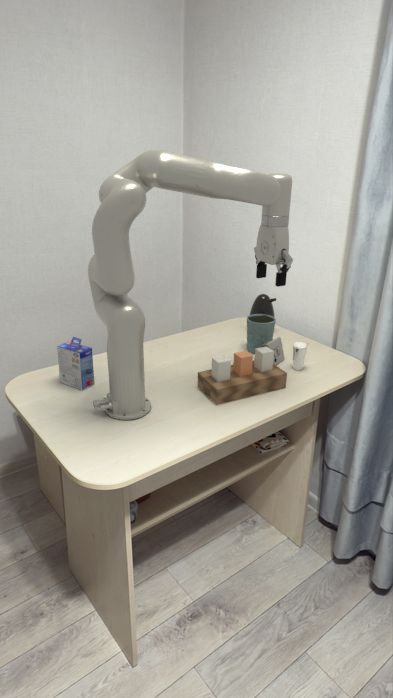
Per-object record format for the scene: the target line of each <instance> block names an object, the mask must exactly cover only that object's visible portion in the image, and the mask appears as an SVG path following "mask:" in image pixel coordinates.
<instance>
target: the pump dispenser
mask: <svg viewBox="0 0 393 698" xmlns="http://www.w3.org/2000/svg"><path fill="white" fill-rule="evenodd" d="M276 301H277V297H276V298H275V297H274V298H270V296H269V295H268V294H265V293H260V294H258V295H257V296H256V298H255V299H254V300H253V303H252V305H251V307H250V311H249V315H253V314H265V315H270V316H273V317H274V318H275V319H276V316H275V310H274V309H275V308H274V305H273V302H276Z"/></svg>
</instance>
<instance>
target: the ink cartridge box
mask: <svg viewBox="0 0 393 698" xmlns="http://www.w3.org/2000/svg"><path fill="white" fill-rule="evenodd" d="M74 341H77V342H78V343H77V342H74ZM56 350H57V361H58V362H57V363H58V373H59V382H60V383H61V384H64V385H68V386H70V387H72V388H76V389H78V390H82V391H83V390H85V389H87V388H89V387H92V386H94V385H95V372H94V360H93V359H94V358H93V347H90V346H87V345H84V344H82V338H79V337H75V336H72V339H71V340H70V341H67V342H63V343H62V344H60V345H57V346H56Z"/></svg>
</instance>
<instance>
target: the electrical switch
mask: <svg viewBox="0 0 393 698" xmlns="http://www.w3.org/2000/svg"><path fill="white" fill-rule="evenodd" d="M262 347H268V348H270V349H271V350H273V351H274V358H273V364H274V365H276V366H277V365H279V364H280V363H282V362H283V361H284V360H285V354H284V353H285V352H284V348H283V342H282V338H281V336H277V337H276V338H273V339H271V340H270V341H268V342H266V343H264V344H263V345H262Z"/></svg>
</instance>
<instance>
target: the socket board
mask: <svg viewBox="0 0 393 698" xmlns="http://www.w3.org/2000/svg"><path fill="white" fill-rule="evenodd" d="M254 362H255V359H253V362H252V375H248V376H243V377H239V376H238V375H236V374H235V373H234V372H233V366H234V364H231V367H230V380H226V381H221V382H217V381H215V380H214V379H213V378H212V377H211V371H212V368H211V369H207V370H206V369H205V370H202V371H198V372H197V388H198V389H199V390H200V392H202V393H203V394H204V395H205V396H206V397H208V399H209V400H210V401H212V402H213V403H214V404H215V405H216V406H219V405H221V404H222V405H223V404H226V403H230V402H235V401H238V400H242V399H247V398H250V397H254V396H258V395H262V394H266V393H271V392H274V391H278V390H282V389H286V387H287V380H288V379H287V378H288V372H286V371H285V370H283V369H282V368H281V367H278V366H277V365H274V364H273V369H272V370H270V371H265V372H260V371H259V370H257V369H256V368H254Z"/></svg>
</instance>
